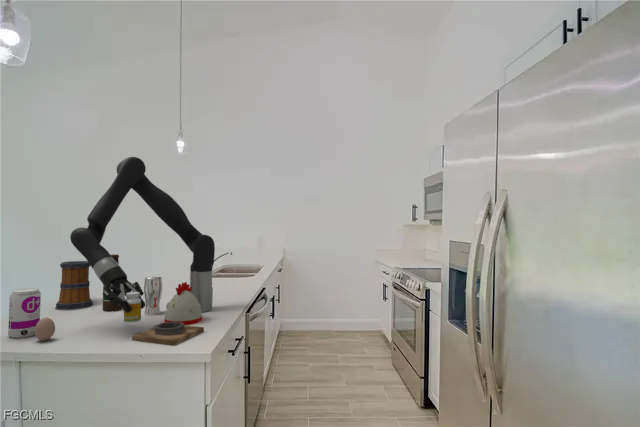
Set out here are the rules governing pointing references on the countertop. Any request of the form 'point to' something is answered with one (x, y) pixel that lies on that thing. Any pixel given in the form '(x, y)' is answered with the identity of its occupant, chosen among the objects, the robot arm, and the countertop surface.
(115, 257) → the beer bottle
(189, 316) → the kitchen timer
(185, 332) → the socket board
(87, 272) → the mug
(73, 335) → the countertop surface
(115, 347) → the countertop surface
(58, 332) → the countertop surface
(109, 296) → the robot arm
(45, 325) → the egg
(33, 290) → the supplement can
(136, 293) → the supplement bottle
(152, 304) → the beer glass
